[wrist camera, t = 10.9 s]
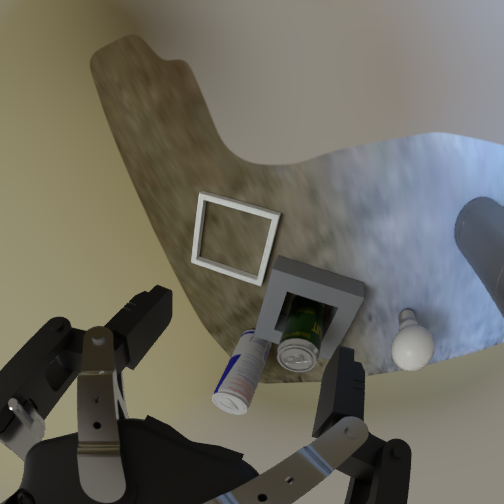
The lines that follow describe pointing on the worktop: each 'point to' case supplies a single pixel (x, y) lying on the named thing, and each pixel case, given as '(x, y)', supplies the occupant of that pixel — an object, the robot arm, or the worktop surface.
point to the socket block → (313, 287)
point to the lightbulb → (412, 343)
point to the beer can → (302, 335)
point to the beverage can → (242, 374)
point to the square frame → (240, 206)
